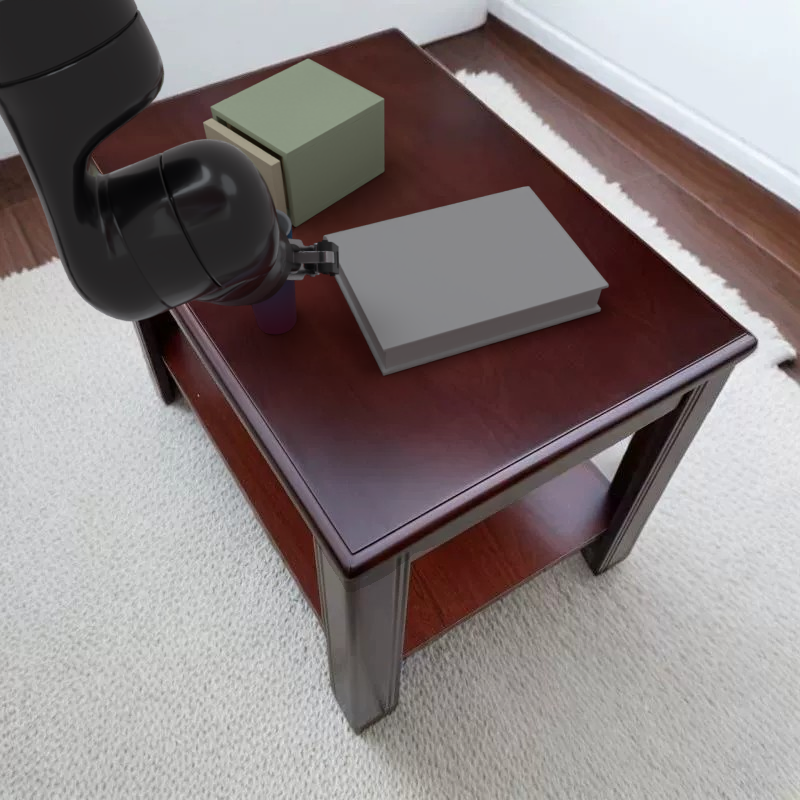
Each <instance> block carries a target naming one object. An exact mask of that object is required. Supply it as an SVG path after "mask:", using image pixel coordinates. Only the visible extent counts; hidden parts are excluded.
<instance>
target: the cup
mask: <svg viewBox="0 0 800 800" xmlns="http://www.w3.org/2000/svg"><path fill="white" fill-rule="evenodd" d="M276 212H277V217H278V224H279V225H280V226H281V227H282V229H283V230H284V232H285V234H286V235H287V237H288V239H293V225H292V224H291V220H290V218H289V217H288V216H287V215H286V214H285V213H284V212H282V211H280V210H278V209H276ZM295 284H296V280H293V281H286V282H285V283H284V285H283V286H282V287H281V289H280V290H279V291H278V292H277V293H276V294H275V295H273V296H272V297H271V298H269V299H267V300H266V301H263V302H261V303H258V304H254V305H251V307H252V311H253V314H254V319H255V322H256V325H257V327H258V328H259V329H260V330H261V331H262V332H264V333H265V334H268V335H283V334H285V333H287V332H289V331H291V330H292V329H293V328H294V327H295V325H296V324H297V319H298V317H297V300H296V298H297V297H296V285H295Z"/></svg>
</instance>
